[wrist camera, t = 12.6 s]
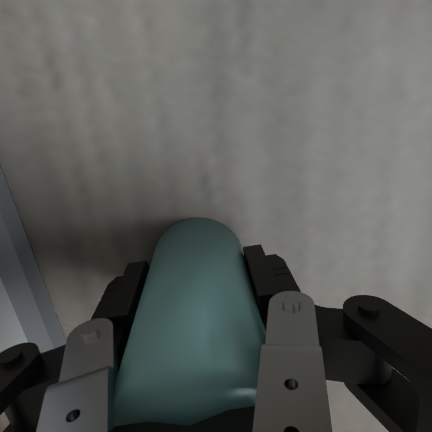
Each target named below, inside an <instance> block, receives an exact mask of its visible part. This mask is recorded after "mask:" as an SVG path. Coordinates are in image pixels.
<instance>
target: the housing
mask: <svg viewBox="0 0 432 432" xmlns="http://www.w3.org/2000/svg"><path fill="white" fill-rule="evenodd" d="M27 342H31V343H35V344H36V345H37V346H38V348H39V350H40V353H43V352H46V351H49V350H52V349H55V348H57V347H60V346H63V345H65V344H66V340H65V337H64V335H63V332H62V329H61V327H60V324H59V321H58V319H57V316H56V313H55V311H54V308H53V305H52V303H51V300H50V297H49V295H48V292H47V289H46V287H45V284H44V281H43V279H42V276H41V273H40V271H39V268H38V265H37V262H36V260H35V257H34V254H33V252H32V249H31V246H30V244H29V241H28V238H27V236H26V233H25V230H24V228H23V225H22V222H21V220H20V217H19V214H18V212H17V209H16V206H15V204H14V201H13V198H12V196H11V193H10V190H9V188H8V185H7V182H6V180H5V177H4V174H3V172H2V169H1V166H0V353H1V352H2V351H4V350H6V349H8V348H10V347H12V346H14V345H17V344H21V343H27Z"/></svg>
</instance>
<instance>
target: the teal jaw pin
mask: <svg viewBox="0 0 432 432" xmlns="http://www.w3.org/2000/svg"><path fill="white" fill-rule="evenodd" d="M265 340H266V330H265V326H264V323H263V320H262V317H261V314H260V311H259V307H258V304H257V300H256V297H255V293H254V290H253V286H252V283H251V279H250V276H249V272H248V269H247V265H246V262H245V258H244V254H243V250H242V247H241V244H240V242H239V240H238V238H237V237H236V235H235V234H234V233H233V232H232V231H231V230H230V229H229V228H228V227H226V226H225V225H223V224H221V223H219V222H217V221H214V220H211V219H205V218H192V219H187V220H183V221H181V222H178V223H176V224H174V225H173V226H171V227H170V228H169V229H167V230H166V231H165V232H164V233H163V235H162V236H161V237H160V239H159V240H158V242H157V245H156V247H155V251H154V254H153V258H152V261H151V264H150V268H149V271H148V274H147V278H146V281H145V284H144V288H143V291H142V295H141V298H140V301H139V305H138V308H137V311H136V315H135V318H134V322H133V325H132V328H131V332H130V335H129V338H128V342H127V345H126V348H125V352H124V355H123V359H122V362H121V365H120V369H119V372H118V375H117V379H116V383H115V389H114V396H113V406H114V409H115V412H116V413H115V417H114V426H120V425H126V424H133V423H140V422H147V421H150V422H159V423H167V424H176V425H185V426H188V425H192V424H195V423H197V422H200V421H202V420H205V419H207V418H210V417H212V416H215V415H217V414H220V413H222V412H225V411H227V410H230V409H237V408H244V407H251V406H255V402H256V393H257V383H258V373H259V364H260V354H261V346H262V343H265Z"/></svg>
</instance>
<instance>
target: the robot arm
mask: <svg viewBox="0 0 432 432" xmlns="http://www.w3.org/2000/svg"><path fill="white" fill-rule="evenodd" d="M243 253H244V258H245V262H246V265H247V269H248V272H249V276H250V279H251V283H252V286H253V290H254V293H255V297H256V300H257V304H258V307H259V311H260V314H261V317H262V320H263V323H264V326H265V330H266V340H265V343H262V346H261V354H260V364H259V373H258V383H257V393H256V402H255V406H251V407H244V408H237V409H230V410H227V411H225V412H222V413H220V414H217V415H215V416H212V417H210V418H207V419H205V420H202V421H200V422H197V423H195V424H192V425H188V426H185V425H176V424H167V423H159V422H150V421H147V422H140V423H133V424H126V425H120V426H114V417H115V413H116V412H115V409H114V406H113V396H114V389H115V383H116V379H117V375H118V372H119V369H120V365H121V362H122V359H123V355H124V352H125V348H126V345H127V342H128V338H129V335H130V332H131V328H132V325H133V322H134V318H135V315H136V311H137V308H138V305H139V301H140V298H141V295H142V291H143V288H144V284H145V281H146V278H147V274H148V271H149V268H150V267H149V264H148V262H147V261H141V262H134V263H128V265H127V267H126V269H125V272H124V274H123V276H119V277H116V278H115V279H114V280H113V281H111V282H110V283H109V284H108V286H107V288H106V290H105V292H104V294H103V296H102V298H101V301H100V302H99V304H98V306H97V308H96V310H95V312H94V314H93V316H92V318H91V320H89V321H86V322H84V323H82V324H80V325H79V326H77V327H76V328H75V329H74V330H73V331H72V332H71V333H70V334H69V336H68V337H67V341H66V344H65V345H63V346H60V347H57V348H55V349H52V350H49V351H46V352H43V353H40V350H39V348H38V346H37V345H36V344H35V343H31V342H27V343H21V344H17V345H14V346H12V347H10V348H8V349H6V350H4V351H2V352H1V353H0V415H1V414H2V413H3V412H5V414H6V416H7V418H8V420H9V422H10V424H9V425H8V426H7V427H6V429H5V430H4V431H3V432H332V425H331V418H330V410H329V402H328V394H327V386H326V380H332V381H340V382H344V384H345V386H346V387H347V388H348V390H349V391H350V392H351V393H352V394H353V395H354V396H355V397H356V398H357V399H358V400H359V401H360V402H361V403H362V404H363V405H364V406H365V407H366V408H367V409H368V410H369V411H370V412H371V413H372V414H373V415H374V416H375V418H376V419H377V420H378V421H379V422H380V423H381V424H382V425H383V426H384V427H385V428H386V429H387V430H388V431H389V432H432V329H431V328H430V327H428V326H426V325H425V324H423V323H421V322H420V321H418V320H416V319H415V318H413V317H412V316H410V315H408V314H407V313H405V312H403V311H402V310H400V309H398V308H397V307H395V306H394V305H392V304H390V303H389V302H387V301H385V300H383V299H381V298H378V297H375V296H369V295H357V296H353V297H350V298H348V299H347V300H346V301H345V302H344V304H343V309H336V308H325V307H320V306H317V305H314V301H313V300H312V298H311V297H309V296H308V295H306V294H304V293H301V291H300V289H299V287H298V285H297V284H296V282H295V280H294V278H293V276H292V274H291V272H290V270H289V268H288V267H287V265H286V263H285V261H284V259H282V258H281V257H279V256H277V255H276V254H273V255H265V253H264V251H263V248H262V246H261V244H260V245H253V246H246V247H243ZM392 367H393V368H394V369H393V368H392ZM395 369H396V370H397V371H398V372H399V373H398V372H397V371H396V370H395ZM401 374H402V375H403V376H404V377H403V376H402V375H401ZM406 378H407V379H408V380H409V381H410V382H409V381H408V380H407V379H406Z"/></svg>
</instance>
